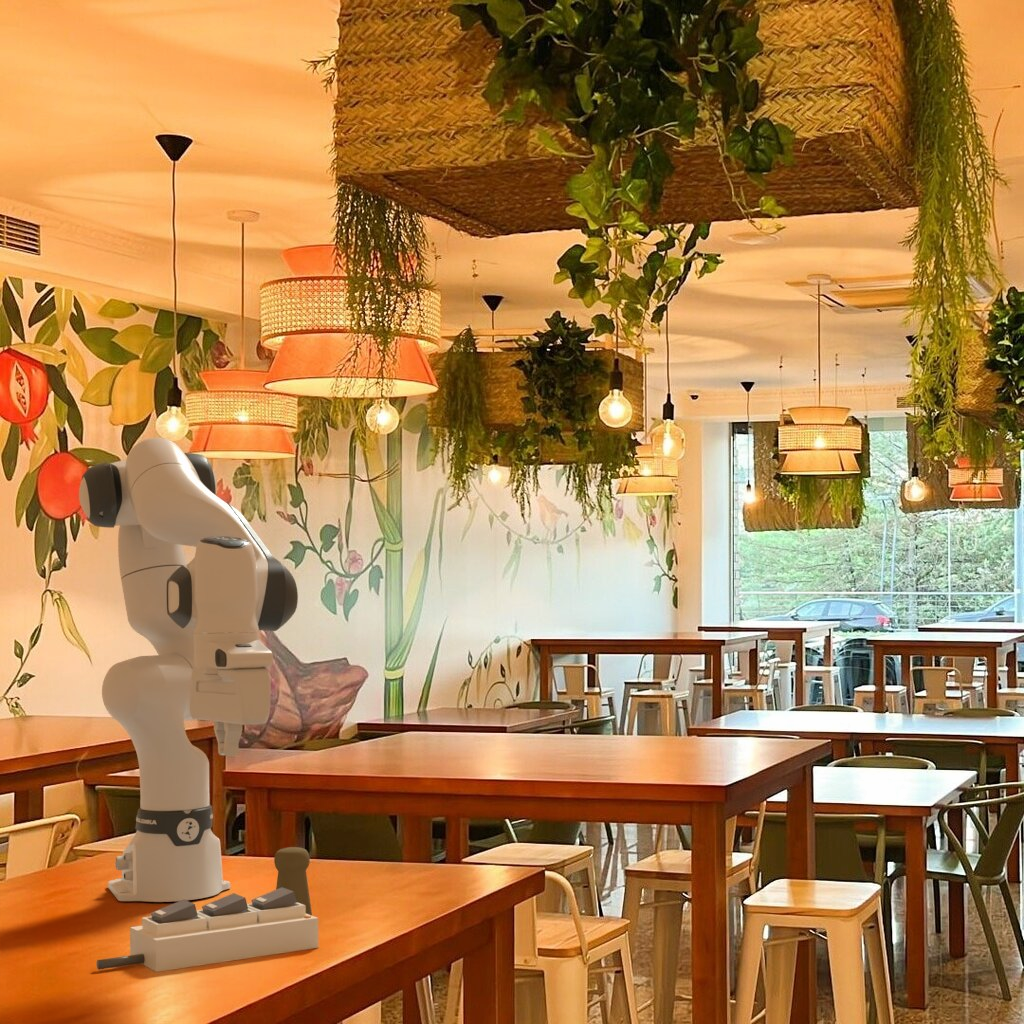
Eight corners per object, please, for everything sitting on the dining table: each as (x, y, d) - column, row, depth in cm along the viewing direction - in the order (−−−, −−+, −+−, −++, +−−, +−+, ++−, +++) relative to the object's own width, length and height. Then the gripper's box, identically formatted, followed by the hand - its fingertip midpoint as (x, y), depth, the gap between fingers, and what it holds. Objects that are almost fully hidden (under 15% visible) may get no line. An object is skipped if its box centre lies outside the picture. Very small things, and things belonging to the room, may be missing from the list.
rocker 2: (204, 917, 210) (201, 905, 210) (236, 904, 213) (233, 892, 212) (216, 922, 207) (212, 910, 206) (248, 908, 209) (245, 896, 209)
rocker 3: (254, 911, 214) (250, 899, 214) (284, 898, 216) (281, 886, 216) (265, 915, 210) (262, 903, 210) (296, 902, 213) (293, 890, 213)
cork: (315, 918, 231) (314, 844, 231) (311, 927, 225) (310, 850, 225) (274, 919, 231) (273, 845, 231) (269, 928, 224) (268, 851, 225)
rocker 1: (153, 924, 206) (150, 911, 206) (186, 910, 209) (183, 898, 208) (164, 929, 203) (160, 916, 203) (197, 915, 205) (194, 902, 205)
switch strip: (86, 963, 204) (85, 921, 204) (287, 934, 220) (287, 895, 220) (110, 978, 195) (110, 934, 196) (318, 947, 211) (318, 906, 212)
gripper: (177, 654, 219) (178, 752, 218) (233, 655, 202) (235, 762, 201) (219, 652, 222) (221, 749, 221) (278, 653, 205) (280, 758, 204)
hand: (228, 755), depth 211 cm, fingers closed
